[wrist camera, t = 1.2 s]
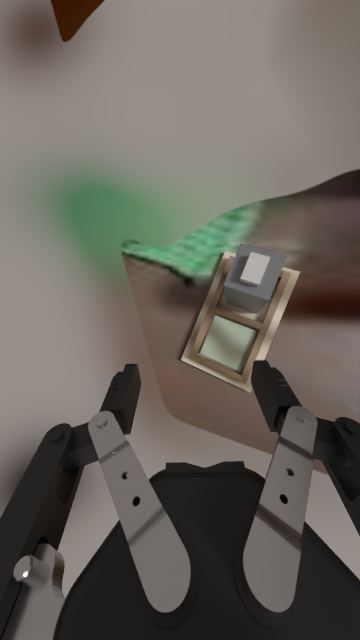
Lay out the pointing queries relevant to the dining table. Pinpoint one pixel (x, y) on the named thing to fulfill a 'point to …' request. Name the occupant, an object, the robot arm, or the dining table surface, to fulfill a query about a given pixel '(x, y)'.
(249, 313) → the dock
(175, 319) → the dining table surface
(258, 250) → the plug
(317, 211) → the dining table surface
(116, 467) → the robot arm
